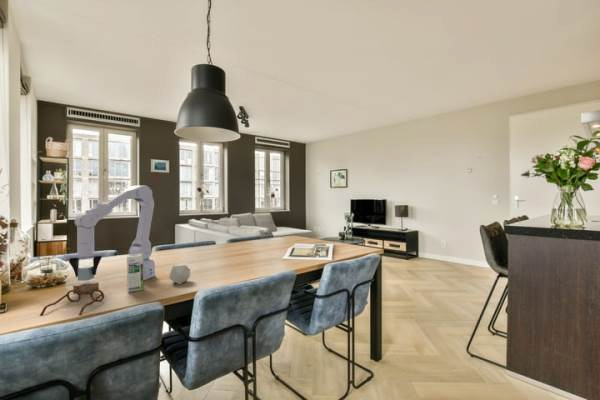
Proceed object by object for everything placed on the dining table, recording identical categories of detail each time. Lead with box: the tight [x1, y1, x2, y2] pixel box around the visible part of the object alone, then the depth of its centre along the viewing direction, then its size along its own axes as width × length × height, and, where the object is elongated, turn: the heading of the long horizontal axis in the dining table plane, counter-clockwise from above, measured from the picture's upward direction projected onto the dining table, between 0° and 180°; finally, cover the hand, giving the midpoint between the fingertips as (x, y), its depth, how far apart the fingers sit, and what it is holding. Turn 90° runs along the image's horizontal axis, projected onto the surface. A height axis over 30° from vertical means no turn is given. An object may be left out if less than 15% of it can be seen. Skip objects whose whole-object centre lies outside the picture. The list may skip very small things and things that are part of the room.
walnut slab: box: [72, 280, 100, 293], centre depth 120 cm, size 6×6×3 cm
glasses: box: [39, 289, 105, 317], centre depth 101 cm, size 13×13×5 cm
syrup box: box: [126, 254, 144, 293], centre depth 122 cm, size 6×6×14 cm
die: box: [168, 263, 191, 285], centre depth 131 cm, size 8×9×10 cm
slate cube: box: [77, 265, 95, 282], centre depth 120 cm, size 4×4×5 cm
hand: (86, 275), depth 120 cm, fingers closed on slate cube, 5 cm apart
